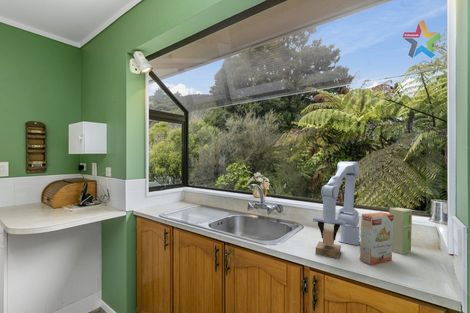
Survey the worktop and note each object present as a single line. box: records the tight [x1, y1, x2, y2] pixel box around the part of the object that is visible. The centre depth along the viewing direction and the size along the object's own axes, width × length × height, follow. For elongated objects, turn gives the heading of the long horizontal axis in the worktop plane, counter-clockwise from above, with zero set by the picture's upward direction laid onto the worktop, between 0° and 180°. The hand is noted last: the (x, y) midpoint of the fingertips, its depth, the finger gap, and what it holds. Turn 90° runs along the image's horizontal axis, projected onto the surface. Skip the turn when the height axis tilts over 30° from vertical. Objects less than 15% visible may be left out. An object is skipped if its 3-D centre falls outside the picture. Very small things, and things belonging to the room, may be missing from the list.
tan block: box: [322, 227, 335, 245], centre depth 115 cm, size 5×5×6 cm
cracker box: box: [359, 211, 394, 266], centre depth 107 cm, size 14×6×21 cm, turn 114°
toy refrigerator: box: [388, 207, 413, 255], centre depth 119 cm, size 8×7×21 cm
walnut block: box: [315, 240, 342, 259], centre depth 115 cm, size 10×10×3 cm
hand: (328, 238), depth 115 cm, fingers closed on tan block, 5 cm apart
